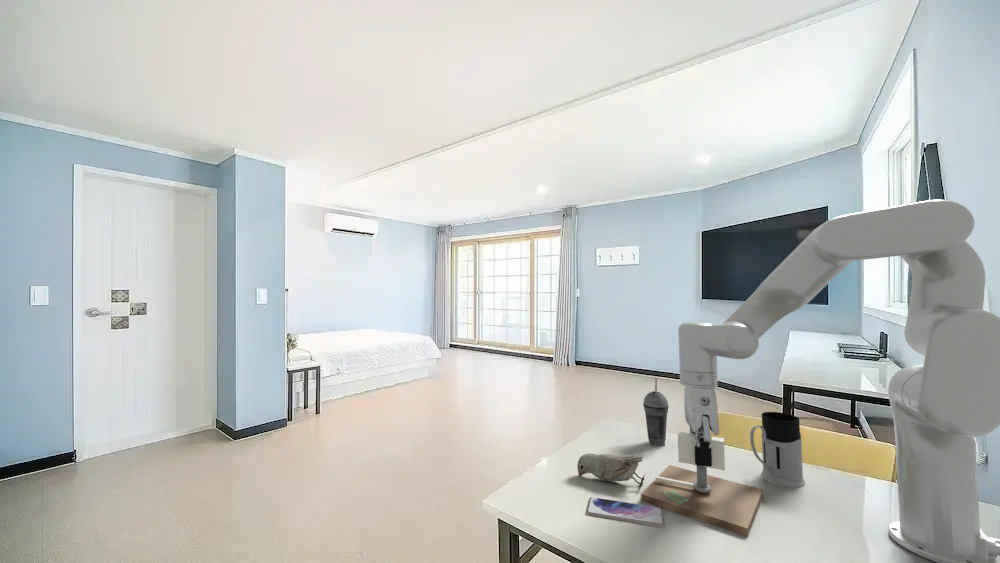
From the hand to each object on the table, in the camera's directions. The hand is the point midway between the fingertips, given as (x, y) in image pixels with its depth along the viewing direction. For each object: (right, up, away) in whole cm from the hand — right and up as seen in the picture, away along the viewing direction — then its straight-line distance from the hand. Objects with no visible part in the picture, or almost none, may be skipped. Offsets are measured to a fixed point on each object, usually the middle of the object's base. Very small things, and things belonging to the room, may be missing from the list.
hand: (700, 460), depth 86 cm
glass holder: (+22, -8, +7) cm, 24 cm away
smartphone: (-19, -9, -5) cm, 21 cm away
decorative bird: (-18, -9, +8) cm, 22 cm away
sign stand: (-2, -7, +1) cm, 7 cm away
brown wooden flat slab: (0, -8, 0) cm, 8 cm away
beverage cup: (+3, -10, +32) cm, 33 cm away
